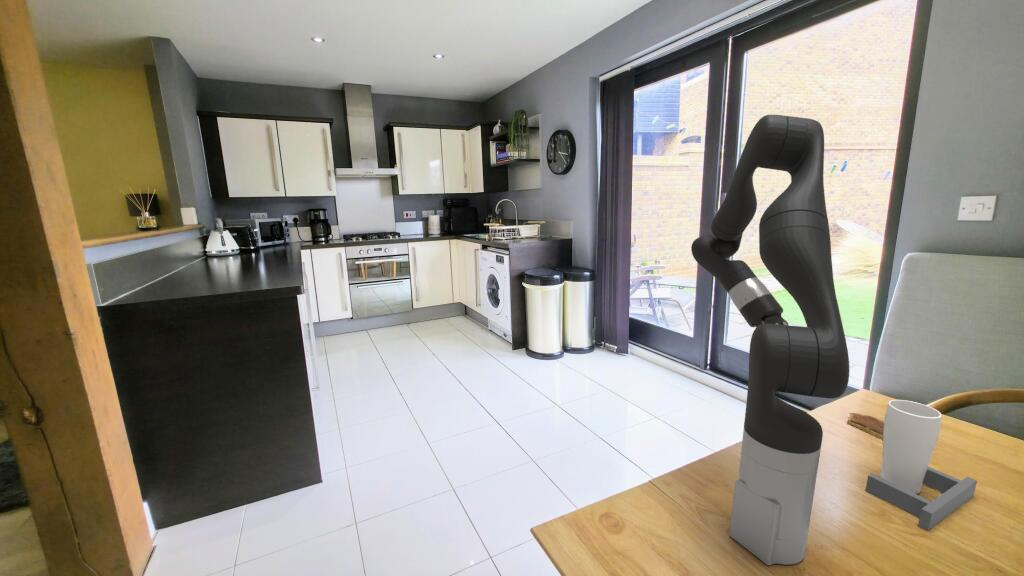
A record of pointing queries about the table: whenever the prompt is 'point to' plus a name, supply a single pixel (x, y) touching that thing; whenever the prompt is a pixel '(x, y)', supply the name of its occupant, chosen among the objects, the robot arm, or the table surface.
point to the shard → (867, 424)
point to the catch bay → (925, 509)
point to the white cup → (908, 443)
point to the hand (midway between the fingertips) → (805, 371)
